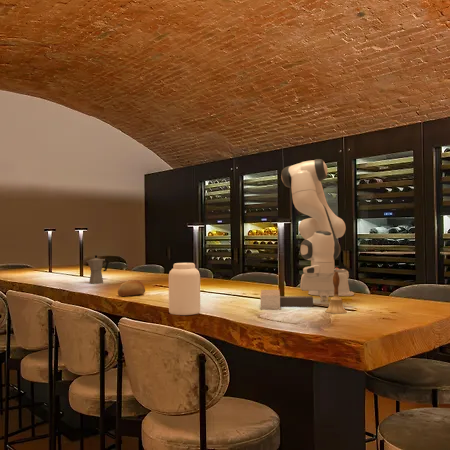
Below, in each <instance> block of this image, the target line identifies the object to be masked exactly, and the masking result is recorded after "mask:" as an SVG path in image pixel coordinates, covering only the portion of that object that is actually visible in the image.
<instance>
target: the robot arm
mask: <svg viewBox="0 0 450 450" xmlns="http://www.w3.org/2000/svg"><path fill="white" fill-rule="evenodd" d="M328 172H329V169H328V165H327V164H326V163H325V161H324V160H323V159H322V158H321V159H320V158H316V159H314V160H311V159H310V160H306V161H301V162H299V163H296V164H293V165H292V164H291V165H287V166H286V167H284V168H283V169H282V170H281V174H280V175H281V176H280V177H281V178H280V179H281V181H282V183H283V185H284V186H285V187H287V188H291V196H292V203H293V205H294V208H295V209H296V210H297V211H298V212H299V213H301V214H303V215H306V216H309V217H308V218H305V219H302V220H301V221H300V223H299V224H298V232H299V235H300V236H301V237H302V238H303V239H304V240H303V241H301V243H300V246H299V252H300V256H301V257H302V258H303V259H304V260H307V261H310V265H309V266H305V267H303V268H302V272H303V273H302V274H301V277H300V278H301V279H300V286H299V287H300V290H301V291H305V292H306V291H308V293H307V294H308V295H309V296H310V295H311V296H320V302H329V297H334V285H333V276H334V273H335V272H338V275H339V278H340V282H339V286H338V296H339V297H342V296H344V297H347V296H350V297H351V296H354V294H355V292H353V291H352V290H351V291H350V286H349V280H348V279H349V277H350V274H349V273H350V272H349V271H348V270H347V269H345V268H339V267H336V266H335V260H336V259H337V258H338V257H339V256H340V253H341V252H342V251H341V249H342V248H341V245H340V241H338V238H339V239H340V238H342V237H343V236H344V235H345V233H346V230H347V228H346V223H345V221H344V219H342V218H341V217H339V216H337V214H335V213H334V211H333V210H332V209H331V208H330V206H329V204H328V202H327V197H326V195H325V191H324V189H323V184H322V182H323V181H324V180H326V178H327V177H328Z"/></svg>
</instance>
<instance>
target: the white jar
mask: <svg viewBox="0 0 450 450" xmlns="http://www.w3.org/2000/svg"><path fill="white" fill-rule="evenodd" d="M172 266H173V268H171V270H169V273H168V312H169V314H170V315H174V316H191V315H197V314H200V313H201V275H200V274H201V273H200V271H199V270H198V268H196V264H195V263H194V262H176V263H173V265H172Z"/></svg>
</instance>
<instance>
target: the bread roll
mask: <svg viewBox="0 0 450 450" xmlns="http://www.w3.org/2000/svg"><path fill="white" fill-rule="evenodd" d="M145 288H146V287H145V285H144V284H143V282H141V281H139V280H135V279H134V280H133V279H131V280H130V279H129V280H126V281H124V282H122V283H121V284H120V286H119V287H118V290H117V295H118V296H119V297H121V298H122V297H129V296H137V295H139V296H140V295H143V294H145V293H146V289H145Z"/></svg>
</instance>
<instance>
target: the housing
mask: <svg viewBox="0 0 450 450" xmlns="http://www.w3.org/2000/svg"><path fill="white" fill-rule="evenodd" d="M280 296H281V294H280V289H261V292H260V310H263V311H264V310H272V311H273V310H276V311H277V310H281V307H280Z"/></svg>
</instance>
